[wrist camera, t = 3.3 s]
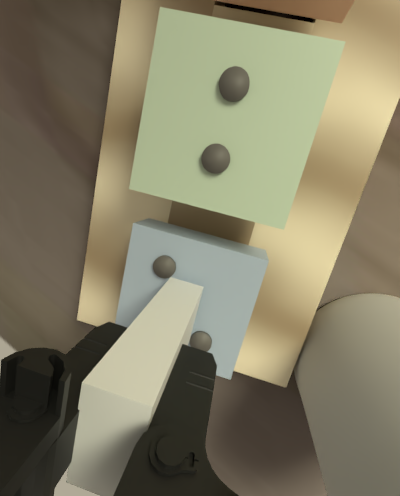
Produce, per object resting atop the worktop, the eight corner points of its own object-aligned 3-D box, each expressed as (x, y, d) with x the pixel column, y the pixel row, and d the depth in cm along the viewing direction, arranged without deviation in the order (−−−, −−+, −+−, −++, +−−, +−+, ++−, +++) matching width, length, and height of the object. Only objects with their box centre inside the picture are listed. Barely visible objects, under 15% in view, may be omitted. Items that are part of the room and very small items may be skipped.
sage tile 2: (186, 62, 13) (158, 2, 9) (313, 89, 12) (348, 38, 8) (161, 188, 14) (126, 188, 10) (273, 217, 14) (284, 230, 10)
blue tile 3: (161, 214, 16) (131, 223, 12) (262, 241, 15) (269, 262, 11) (142, 305, 17) (109, 343, 13) (234, 334, 17) (230, 382, 12)
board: (165, -152, 13) (151, -213, 11) (462, -116, 11) (506, -178, 9) (94, 306, 19) (76, 319, 17) (281, 365, 17) (286, 387, 15)
